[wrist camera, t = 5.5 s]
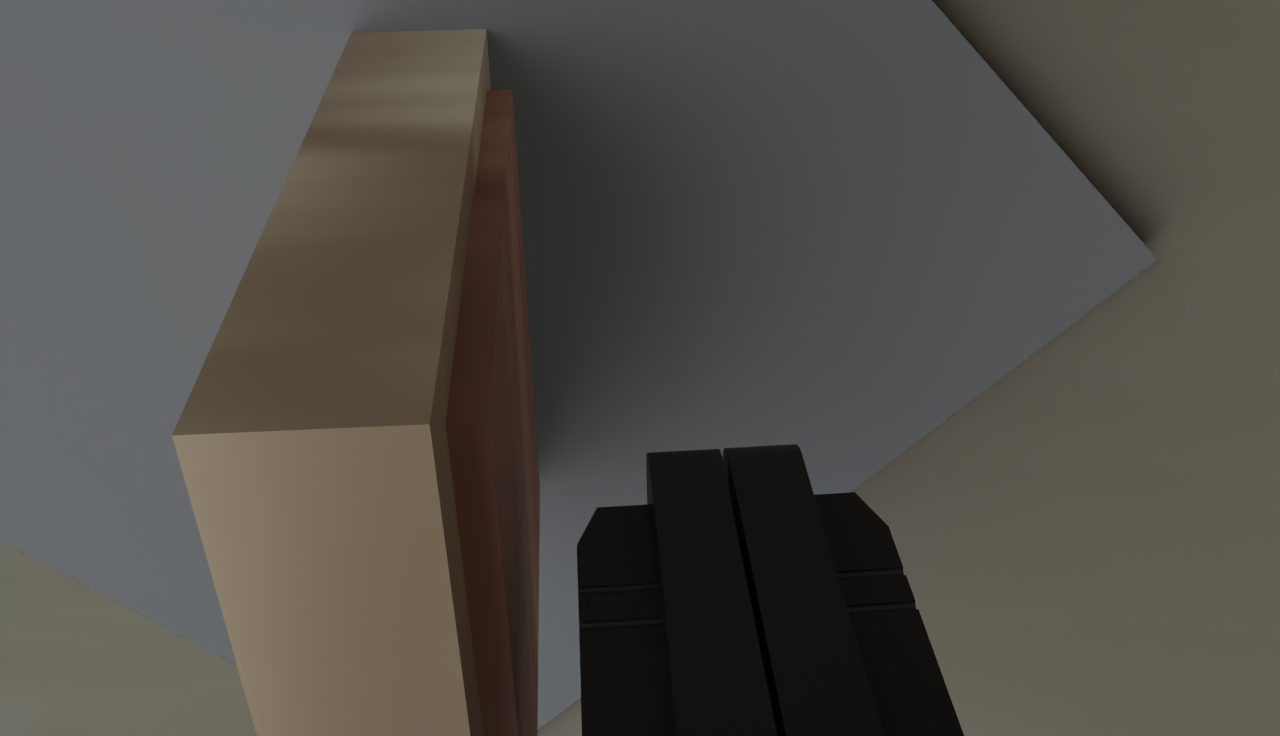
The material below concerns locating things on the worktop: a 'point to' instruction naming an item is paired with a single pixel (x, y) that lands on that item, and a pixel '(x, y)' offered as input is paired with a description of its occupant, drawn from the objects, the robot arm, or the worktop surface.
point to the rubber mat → (533, 249)
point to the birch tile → (380, 415)
